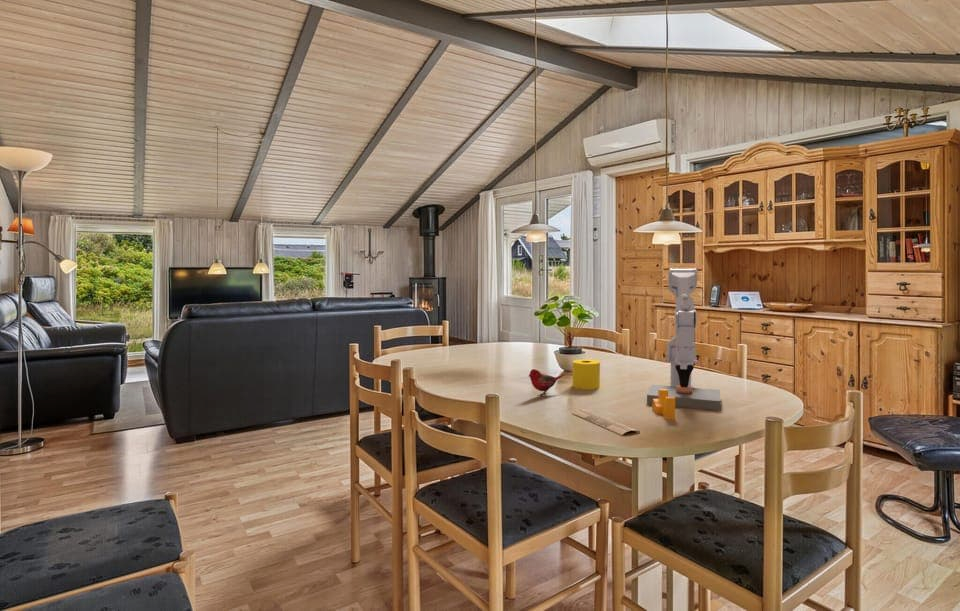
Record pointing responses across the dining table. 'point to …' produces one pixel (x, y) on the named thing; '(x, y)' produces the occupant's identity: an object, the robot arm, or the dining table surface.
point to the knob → (683, 389)
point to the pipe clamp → (664, 404)
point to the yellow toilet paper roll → (586, 374)
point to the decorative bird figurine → (542, 381)
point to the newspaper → (604, 422)
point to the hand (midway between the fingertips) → (684, 386)
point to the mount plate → (689, 397)
